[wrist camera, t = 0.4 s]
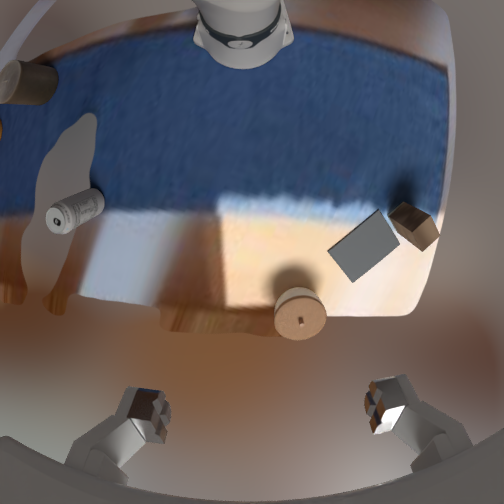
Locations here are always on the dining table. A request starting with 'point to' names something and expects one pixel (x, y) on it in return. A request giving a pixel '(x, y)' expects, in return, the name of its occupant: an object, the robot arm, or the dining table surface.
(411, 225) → the walnut block
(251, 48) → the robot arm
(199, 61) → the dining table surface
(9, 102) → the pillar candle
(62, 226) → the energy drink can
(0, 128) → the flower pot
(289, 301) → the lidded jar
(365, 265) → the felt mat
